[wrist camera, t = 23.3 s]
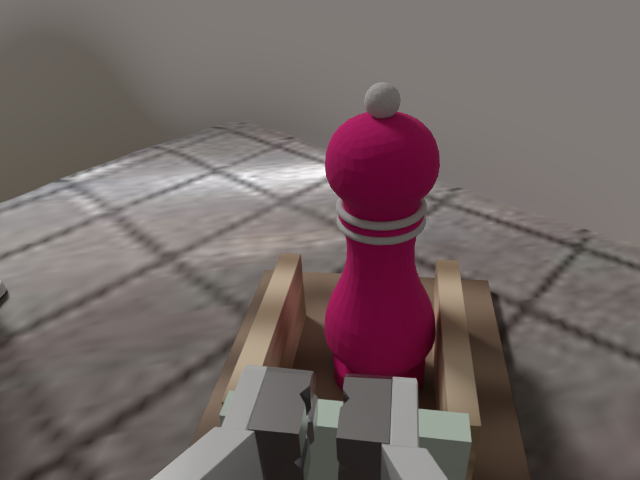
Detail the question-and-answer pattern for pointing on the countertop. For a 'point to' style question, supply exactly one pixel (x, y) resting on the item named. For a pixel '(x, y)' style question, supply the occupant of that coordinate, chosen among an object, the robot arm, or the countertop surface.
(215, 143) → the countertop surface
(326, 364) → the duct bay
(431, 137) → the pepper mill
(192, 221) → the countertop surface
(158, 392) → the countertop surface
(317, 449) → the gate
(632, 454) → the countertop surface
